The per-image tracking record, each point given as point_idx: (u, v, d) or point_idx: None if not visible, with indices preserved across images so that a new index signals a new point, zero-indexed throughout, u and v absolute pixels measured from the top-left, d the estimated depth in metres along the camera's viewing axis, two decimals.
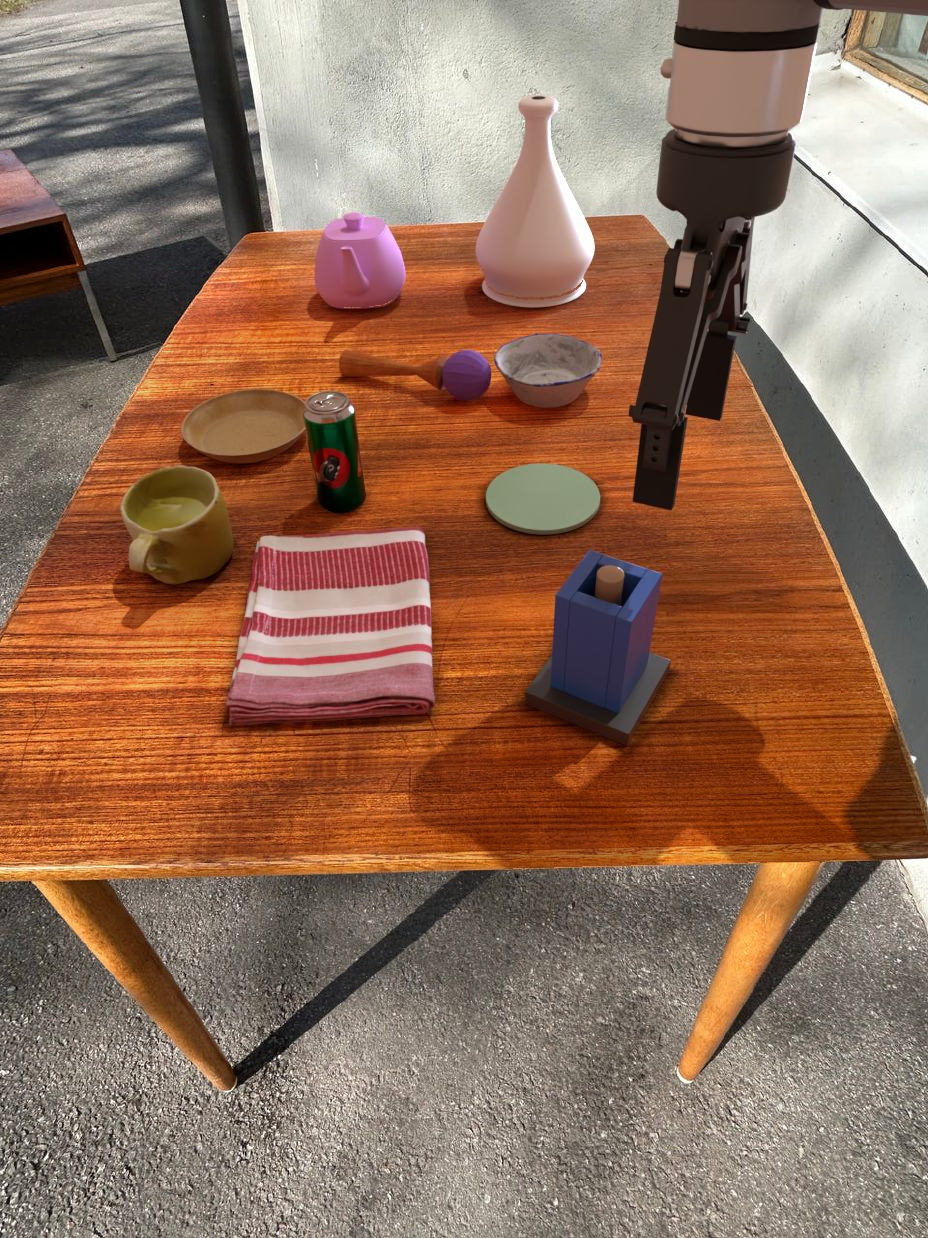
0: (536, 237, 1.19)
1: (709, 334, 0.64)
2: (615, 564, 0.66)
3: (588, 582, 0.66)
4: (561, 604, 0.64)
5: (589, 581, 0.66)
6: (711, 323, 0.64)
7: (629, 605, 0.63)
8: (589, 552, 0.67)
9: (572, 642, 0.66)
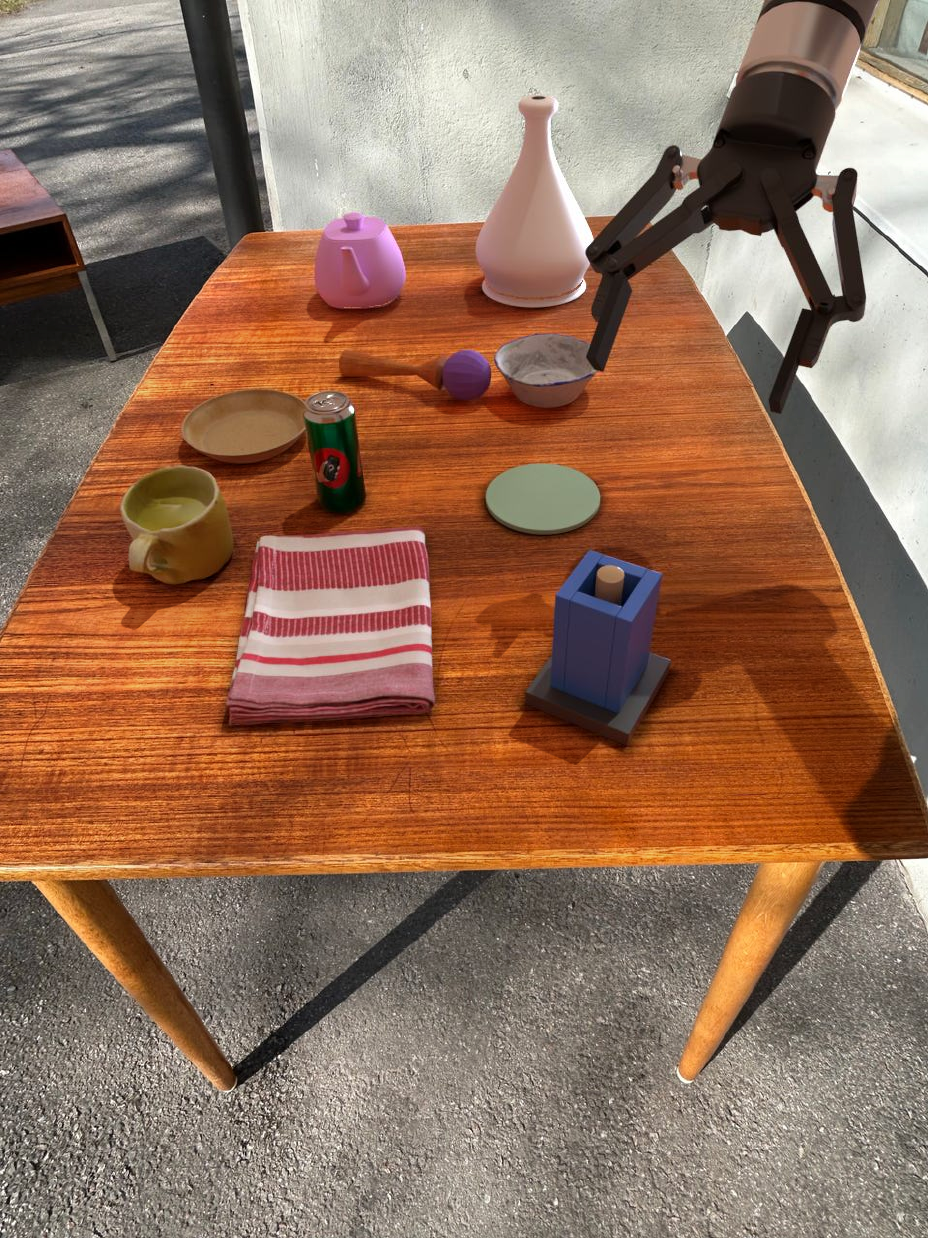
0: (536, 237, 1.19)
1: None
2: (615, 564, 0.66)
3: (588, 582, 0.66)
4: (561, 604, 0.64)
5: (589, 581, 0.66)
6: None
7: (629, 605, 0.63)
8: (589, 552, 0.67)
9: (572, 642, 0.66)
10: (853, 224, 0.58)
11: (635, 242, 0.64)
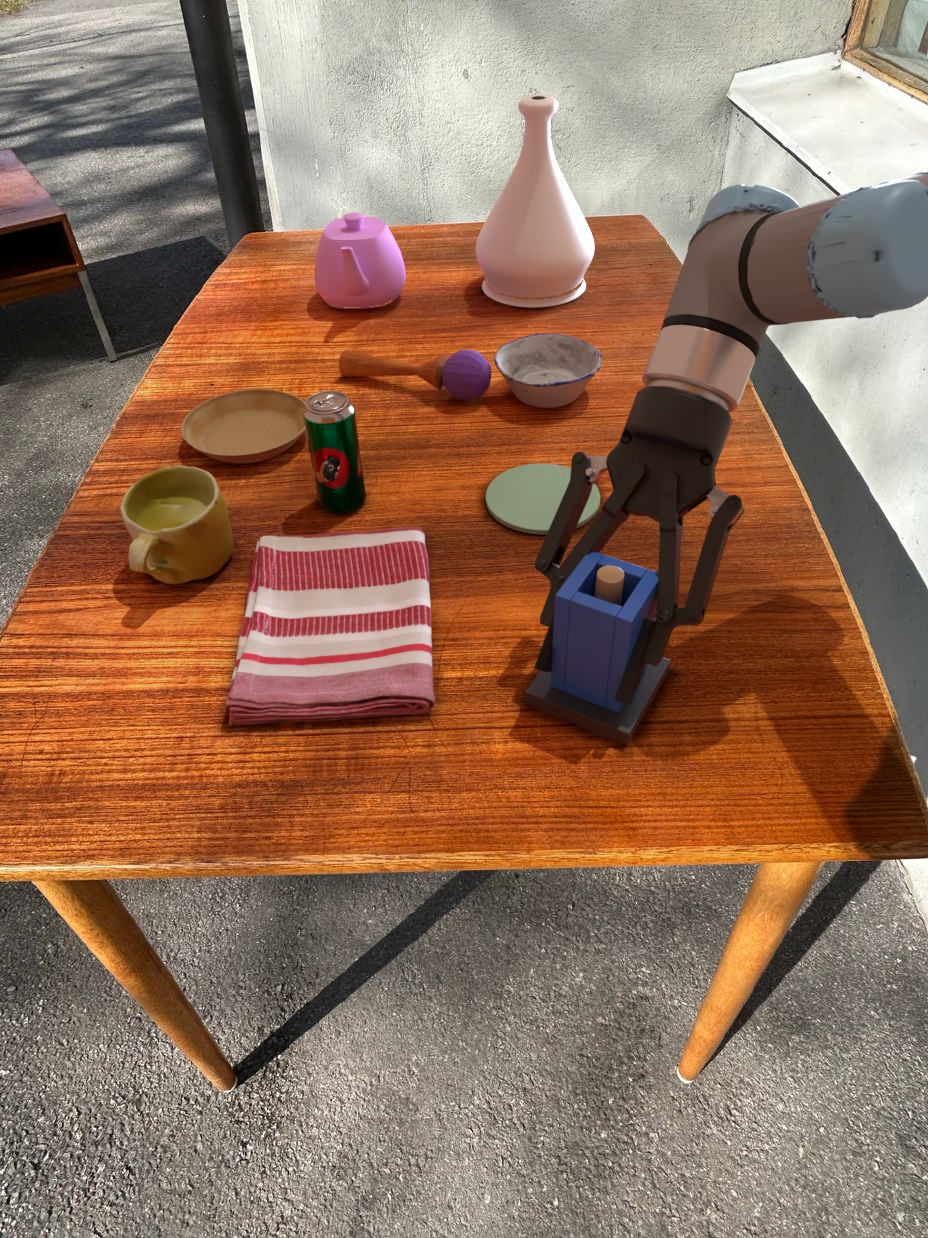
0: (536, 237, 1.19)
1: None
2: (615, 564, 0.66)
3: (588, 582, 0.66)
4: (561, 604, 0.64)
5: (589, 581, 0.66)
6: None
7: (629, 605, 0.63)
8: None
9: (572, 642, 0.66)
10: (717, 548, 0.63)
11: (573, 554, 0.67)
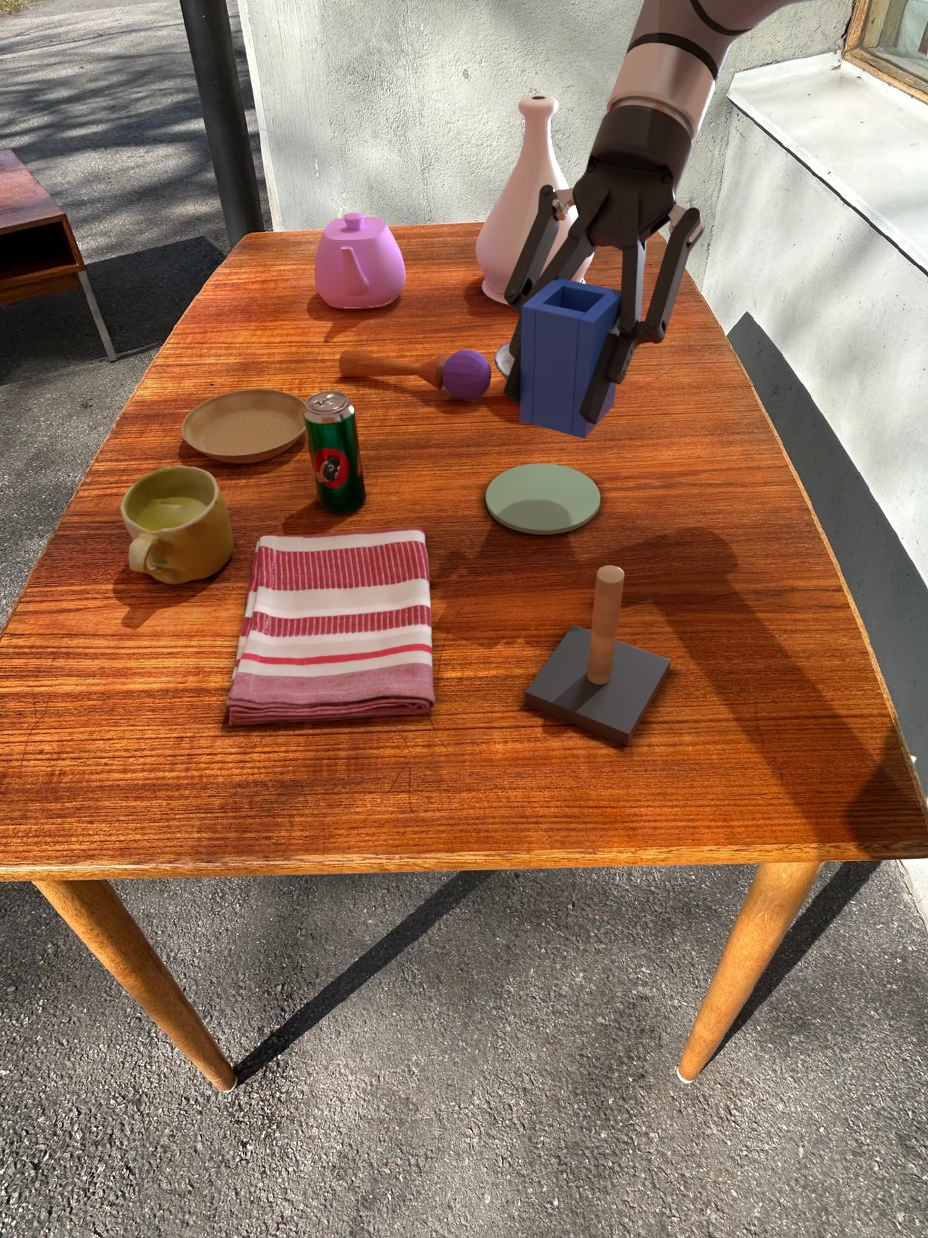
0: None
1: None
2: (580, 286, 0.69)
3: (555, 303, 0.69)
4: (527, 316, 0.66)
5: (555, 302, 0.69)
6: None
7: (592, 311, 0.65)
8: None
9: (539, 360, 0.68)
10: (677, 259, 0.66)
11: (540, 281, 0.70)
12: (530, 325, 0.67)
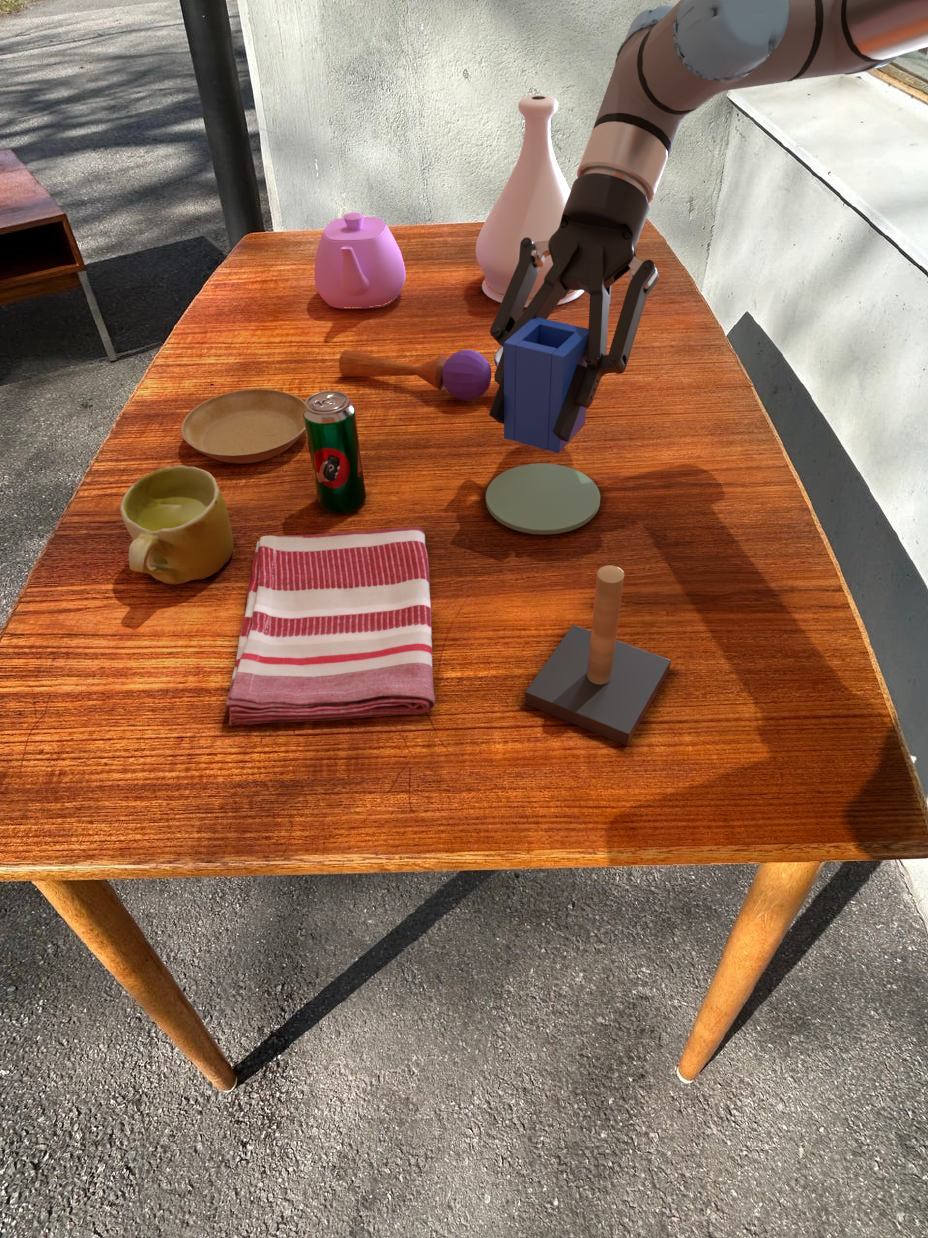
0: (536, 237, 1.19)
1: None
2: (554, 324, 0.81)
3: (532, 339, 0.81)
4: (509, 350, 0.79)
5: (533, 338, 0.81)
6: None
7: (563, 347, 0.77)
8: None
9: (519, 387, 0.81)
10: (635, 303, 0.78)
11: (521, 320, 0.82)
12: (511, 358, 0.79)
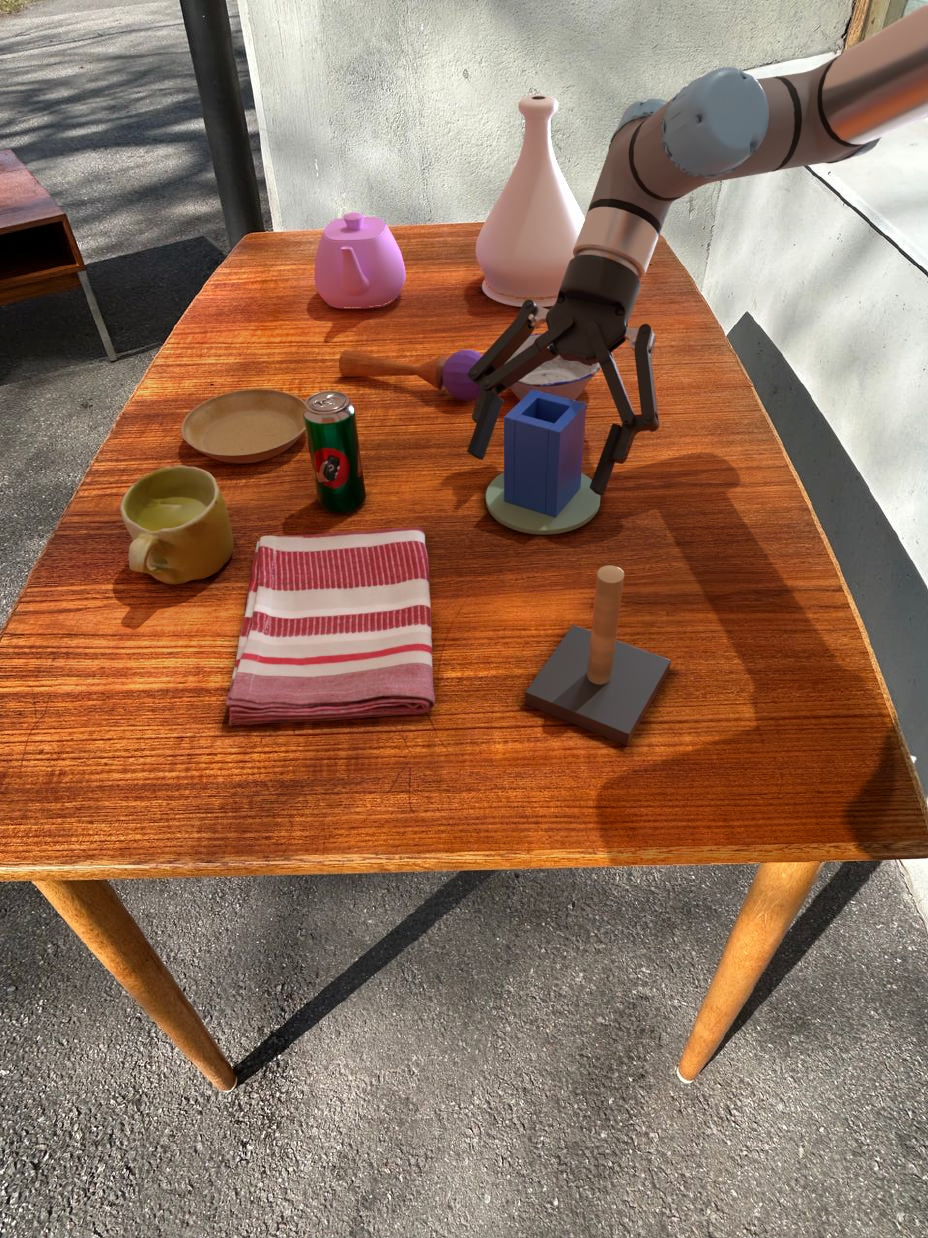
0: (536, 237, 1.19)
1: None
2: (551, 398, 0.86)
3: (531, 412, 0.86)
4: (508, 424, 0.84)
5: (531, 411, 0.86)
6: None
7: (559, 422, 0.83)
8: (532, 391, 0.87)
9: (518, 457, 0.86)
10: (647, 364, 0.82)
11: (502, 368, 0.88)
12: (511, 431, 0.84)
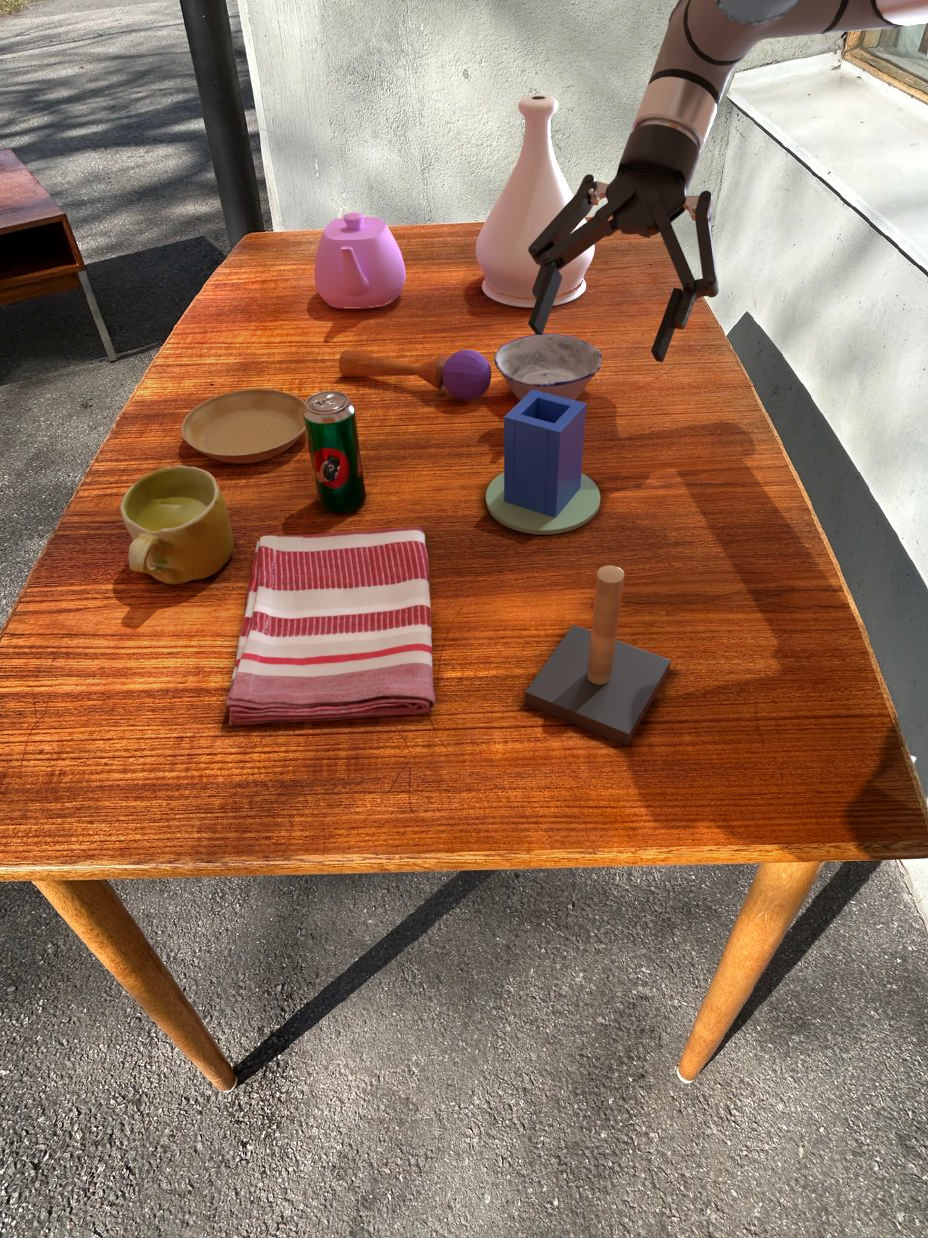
0: (536, 237, 1.19)
1: None
2: (551, 398, 0.86)
3: (531, 412, 0.86)
4: (508, 424, 0.84)
5: (531, 411, 0.86)
6: None
7: (559, 422, 0.83)
8: (532, 391, 0.87)
9: (518, 457, 0.86)
10: (708, 229, 0.84)
11: (562, 242, 0.90)
12: (511, 431, 0.84)
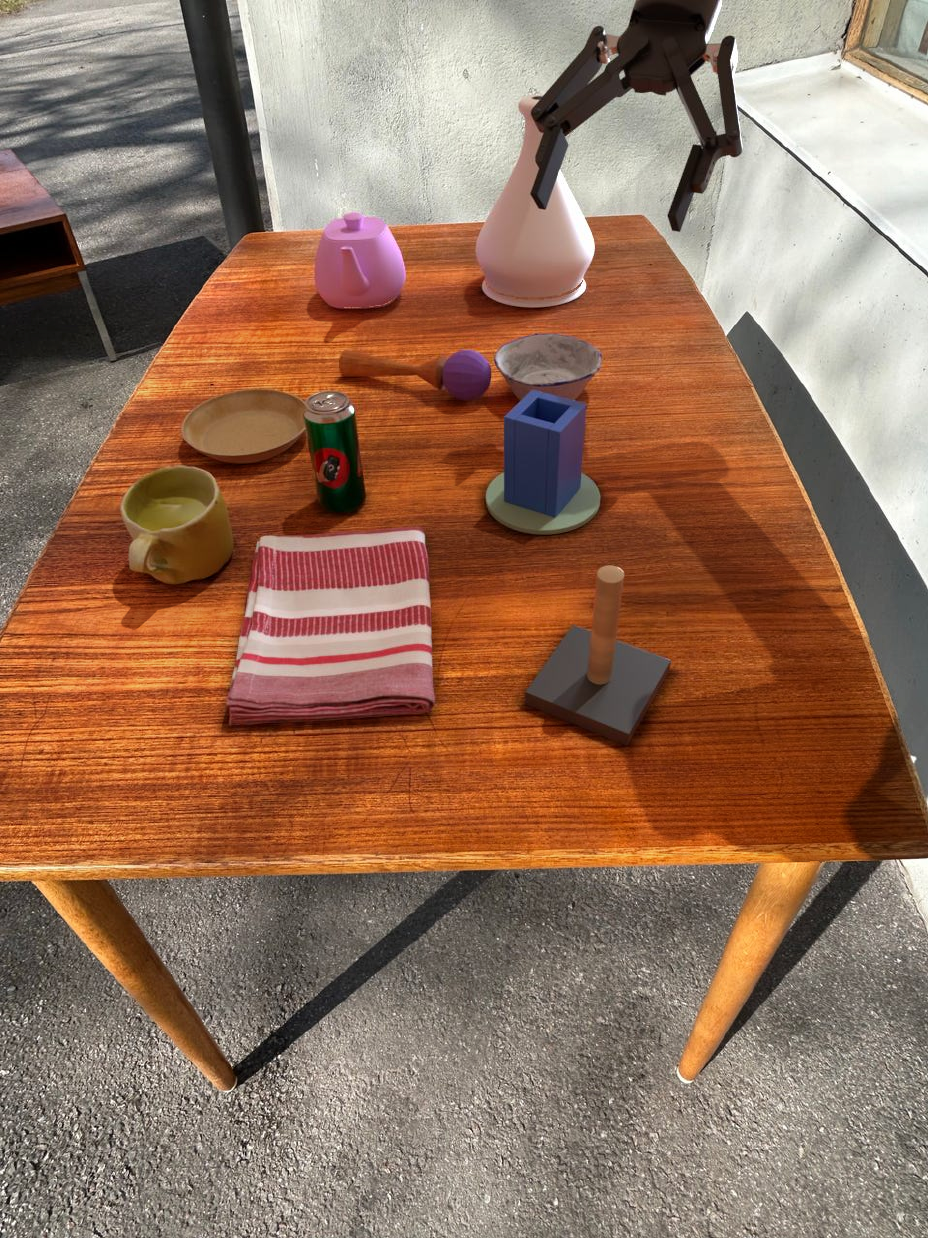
0: (536, 237, 1.19)
1: None
2: (551, 398, 0.86)
3: (531, 412, 0.86)
4: (508, 424, 0.84)
5: (531, 411, 0.86)
6: None
7: (559, 422, 0.83)
8: (532, 391, 0.87)
9: (518, 457, 0.86)
10: (731, 78, 0.76)
11: (569, 102, 0.81)
12: (511, 431, 0.84)
